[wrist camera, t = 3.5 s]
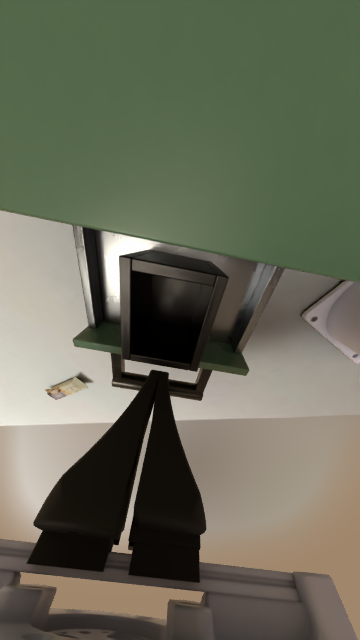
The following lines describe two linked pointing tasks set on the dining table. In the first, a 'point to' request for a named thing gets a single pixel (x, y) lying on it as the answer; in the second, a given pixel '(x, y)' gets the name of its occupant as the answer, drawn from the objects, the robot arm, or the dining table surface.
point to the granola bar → (66, 388)
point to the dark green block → (188, 124)
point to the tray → (229, 325)
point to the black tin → (167, 307)
